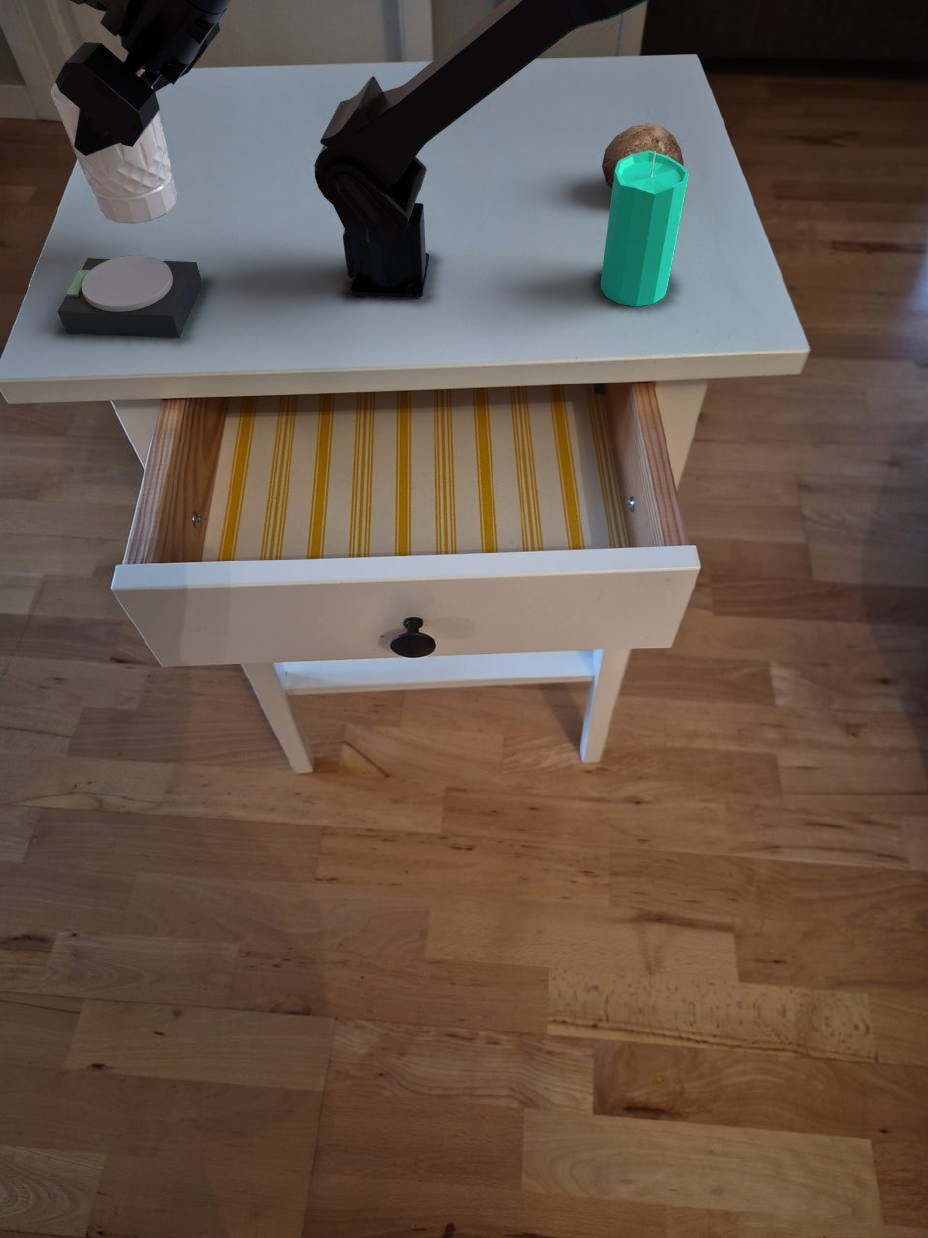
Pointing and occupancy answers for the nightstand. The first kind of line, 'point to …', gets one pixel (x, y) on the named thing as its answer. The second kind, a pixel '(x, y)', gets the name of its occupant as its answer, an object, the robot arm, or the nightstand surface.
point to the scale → (131, 297)
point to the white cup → (125, 170)
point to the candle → (642, 227)
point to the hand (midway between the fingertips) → (99, 127)
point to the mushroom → (639, 147)
